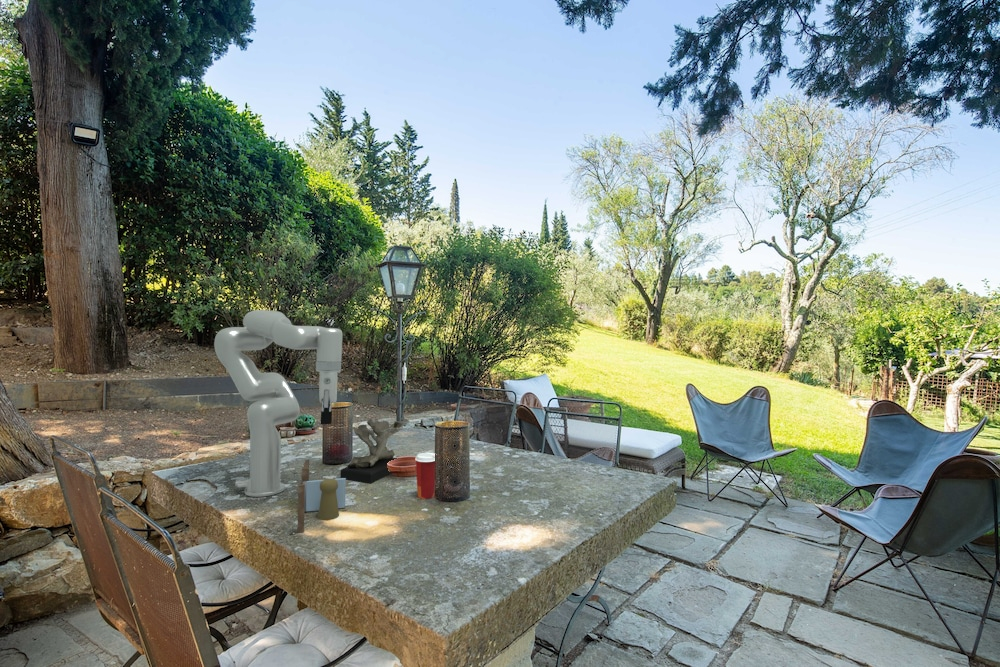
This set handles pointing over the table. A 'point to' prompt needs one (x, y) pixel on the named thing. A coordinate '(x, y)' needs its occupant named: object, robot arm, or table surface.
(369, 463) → the coral
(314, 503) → the door
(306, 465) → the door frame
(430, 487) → the paper cup
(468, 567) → the table surface
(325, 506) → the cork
